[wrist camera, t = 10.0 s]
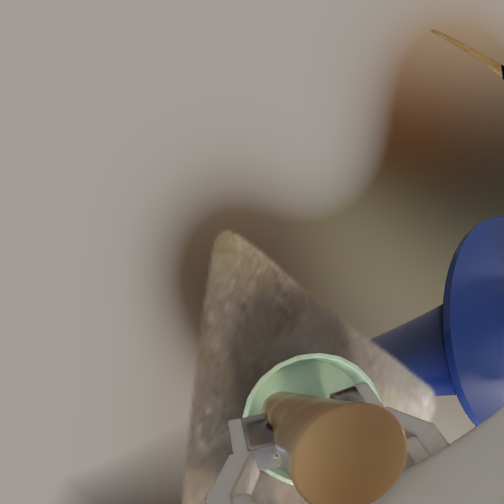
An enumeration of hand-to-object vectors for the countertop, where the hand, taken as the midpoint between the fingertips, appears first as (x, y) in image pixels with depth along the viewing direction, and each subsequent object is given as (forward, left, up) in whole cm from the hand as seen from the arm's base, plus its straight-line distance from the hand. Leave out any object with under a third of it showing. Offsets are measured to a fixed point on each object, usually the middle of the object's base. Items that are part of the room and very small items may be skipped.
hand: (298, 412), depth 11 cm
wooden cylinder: (0, +1, -8) cm, 8 cm away
